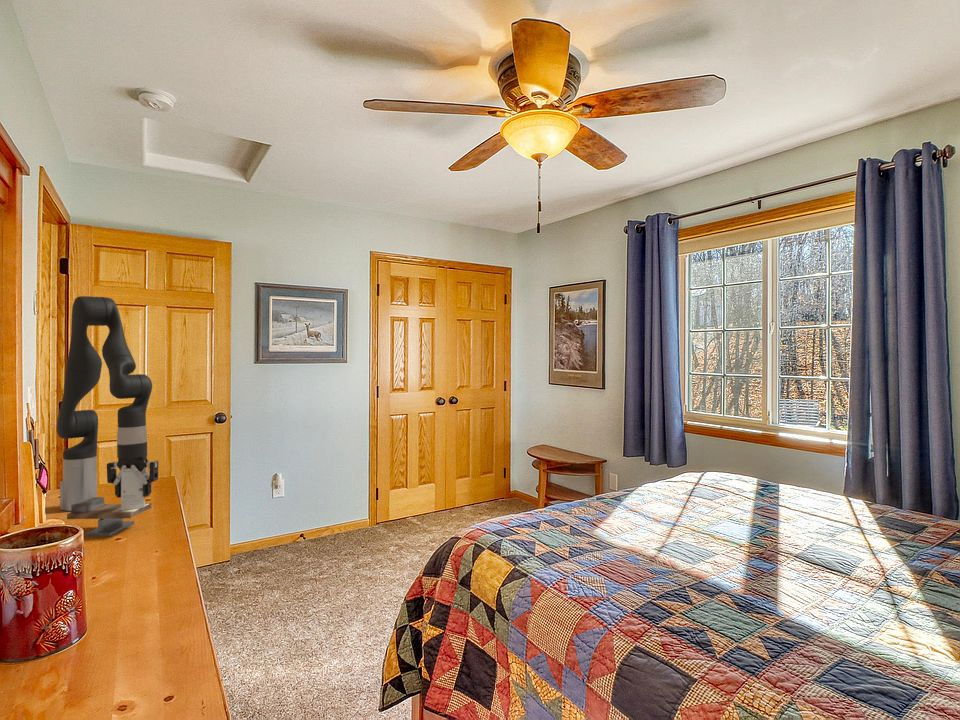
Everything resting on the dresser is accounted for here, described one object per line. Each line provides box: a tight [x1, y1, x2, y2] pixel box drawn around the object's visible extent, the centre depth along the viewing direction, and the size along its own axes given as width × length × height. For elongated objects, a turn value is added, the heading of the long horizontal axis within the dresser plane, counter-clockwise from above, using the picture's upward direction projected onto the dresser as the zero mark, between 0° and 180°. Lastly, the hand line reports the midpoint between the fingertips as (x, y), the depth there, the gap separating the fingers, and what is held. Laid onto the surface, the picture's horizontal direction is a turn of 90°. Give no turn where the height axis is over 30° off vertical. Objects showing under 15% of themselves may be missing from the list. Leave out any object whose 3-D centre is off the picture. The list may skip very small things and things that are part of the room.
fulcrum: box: [84, 518, 135, 538], centre depth 156 cm, size 7×11×4 cm, turn 2°
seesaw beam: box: [66, 496, 152, 520], centre depth 156 cm, size 18×10×4 cm, turn 92°
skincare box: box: [120, 467, 146, 510], centre depth 156 cm, size 6×4×12 cm
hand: (133, 496), depth 156 cm, fingers closed on skincare box, 7 cm apart
